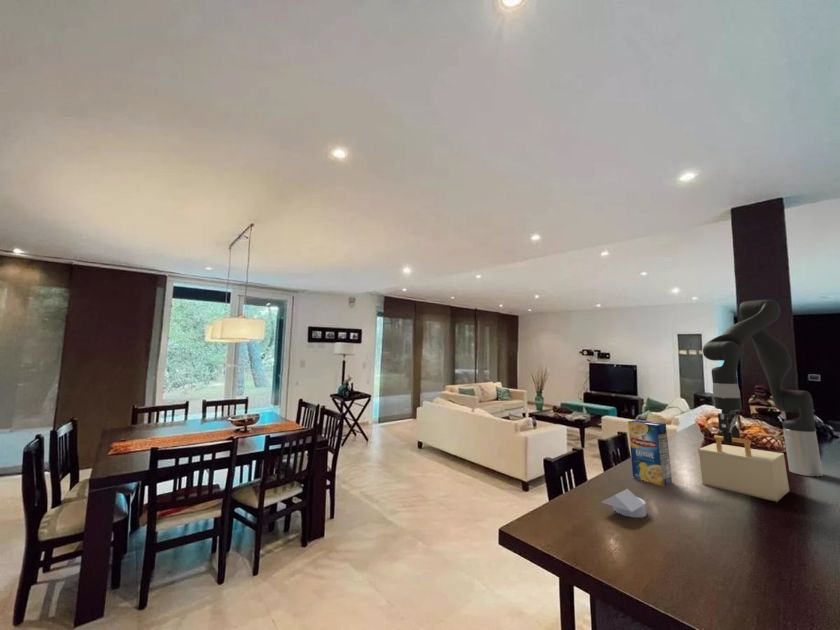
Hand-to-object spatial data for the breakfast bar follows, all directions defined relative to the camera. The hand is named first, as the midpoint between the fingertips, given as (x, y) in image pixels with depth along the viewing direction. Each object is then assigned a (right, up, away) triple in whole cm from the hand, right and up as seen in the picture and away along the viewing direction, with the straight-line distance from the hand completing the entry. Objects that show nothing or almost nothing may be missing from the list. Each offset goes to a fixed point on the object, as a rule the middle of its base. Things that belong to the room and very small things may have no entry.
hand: (732, 441), depth 126 cm
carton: (+6, -17, +1) cm, 18 cm away
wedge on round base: (-49, -16, -18) cm, 54 cm away
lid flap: (+5, -5, +3) cm, 8 cm away
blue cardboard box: (-22, -19, +10) cm, 31 cm away
